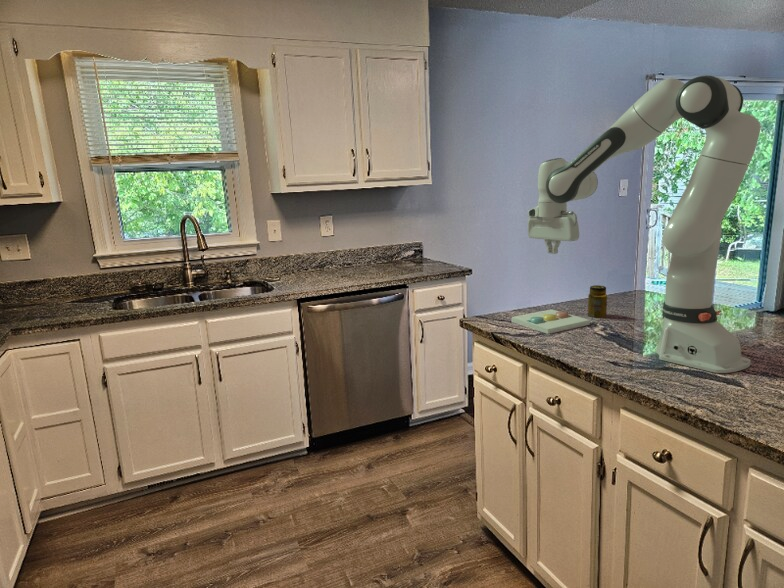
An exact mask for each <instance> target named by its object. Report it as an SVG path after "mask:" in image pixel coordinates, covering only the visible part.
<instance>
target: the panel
mask: <svg viewBox="0 0 784 588" xmlns="http://www.w3.org/2000/svg"><path fill="white" fill-rule="evenodd" d="M556 312H560V310H559V311H558V310H555V309H552V308H551V309H546V310H542V311H541V310H540V311H535V312H531V313H527V314H522V315H521V314H520V315H515V316H512V317H511V323H514V324H517V325H520V326H523V327H527V328H528V329H529V328H530V329H533V330H535V331H538V332H542V333H543V334H547V335H550V334H553V333H557V332H563V331H567V330H571V329H575V328H580V327H584V326H588V325H589V326H590V325H591V320H590V319H588V318H584V317H581V316H577V315H573V314H571V313H570V314H569V315H568V318H563V319H561V318H557V317H556V320H554V321H546V320H544V323H540V324H534V323H531V317H542V318H543V315H545V314H553V315H556Z"/></svg>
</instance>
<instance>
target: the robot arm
mask: <svg viewBox="0 0 784 588" xmlns="http://www.w3.org/2000/svg"><path fill="white" fill-rule="evenodd" d="M743 105H744V96H743V93H742V92H741V89H739V87H738V86H736V85H734V84H732V83H731V82H730V81H729V80H727V79H724V78H720V77H716V76H714V75H707V74H706V75H701V76H700V75H699V76H697V77H694V78H691V79H690V80H689V81H687V82H685V83H684V82H683V81H682V80H679V79H676V78H673V77H671V78H670V77H669V78H666V79H665V78H664V79H663V80H662V81H660V82H658V83H657V84H655V85H654V86H653V87H651V88H650V89H649V90H648V91H646V92H645V93H644V94H643V95H642V96H641V97H639V98H638V99H637V100H636V101H635V102H634V103H633V104H632V105H631V106H630V107H629V108H628V109H627V110H626V111H625V112H624V113H623V114H621V116H620V117H619V118H618V119H617V120H616V121H615V122H614V123H612V125H611V126H610V127H609V128H608V129H606V130H605V132H603V133H602V134H601V135H600V136H598V138H596V139H595V140H594V141H593V142H592V143H590V144H589V145H588V146H587V147H586V148H585V149H584V150H583V151H581V153H579V154H578V155H577V156H576V157H574V159H572V160H571V161H570V162H568V161H567V160H566V159H565V158H562V157H557V158H552V159H548V160H546V161H543V162H542V163H541V164H540V165H539V167H538V174H537V190H538V195H539V196H538V199H537V206H535V207H532V208H531V209H529V210H527V212H526V213H527V217H528V219H527V236H528V237H529V238H530V239H535V240H537V239H538V240H544V244H545V246H546V248H547V251H546V252H547V254H552V255H557V254H558V252H559V250H558V249H559V247H560V245H561V242H576V241H578V240H579V239H580V227H579V221H578V216H577V214H576V213H575V212H574V211H572V210H569V211H568V208H567V207H568V206H567V205H568V202H570V201H571V202H572V201H578V200H583V199H587V198H589V197H591V196H592V195H594V193H596V190H597V188H598V184H599V180H598V177H597V174H596V172H595V171H596V170H598V169H599V168H600V167H601V166H602V165H603V164H604V163H607V161H608V160H611V159H612V158H614V157H617V156H618V155H619V156H620V155H621V154H624V153H629V152H632V151H636V150H639V149H642V148H643V147H645V146H647V145H649V144H650V143H651V142H653V141H654V140H655V139H657V138H658V137H659V136H660V135H661V134H663V132H665V131H666V130H667V129H668V128H670V127H671V125H673V124H674V123H675V122H676V121H678V120H680V119H684V120H686V121H687V122H689V123H691V124H692V125H695V127H697V128H699V129H702V130H703V129H704V130H705V132H706V137H705V141H704V144H703V146H702V150H701V151H700V152H699V153H700V154H699V156H698V159H697V161H696V163H695V165H694V169H693V172H692V174H691V176H690V178H689V180H688V182H687V185H686V187H685V190H684V191H683V192H682V193H683V194H682V195H681V197H680V198H679V200H678V202H677V204H676V205H675V208H674V210H673V212H672V213H671V216H670V218H669V220H668V223H667V224H666V227H664V231H663V233H662V244H663V246H664V248H665V249H666V250H667V251H668V252H669V253H671V257H670V262H669V266H668V270H667V273H666V278H665V279H666V281H665V282H666V283H665V297H664V302H663V304H662V314H661V315H662V319H663V320H662V321H663V322H662V326H661V327H662V328H661V333H660V336H659V339H658V342H657V345H656V348H655V351H654V352H655V353H656V354H657V355H658V360H661V361H665V362H668V363H669V362H670V363H672V364H678V365H680V366H686V367H690V368H695V369H698V370H702V371H707V372H711V373H716V374H728V373H736V372H738V371H739V372H740V371H743V370H745V369H748V368H749V367H750V366H751V364H752V361H751V359H750V358H748V357H745V356H742V349H741V347H742V346H741V343H740V340H739V339H738V338H737V337H736V336H735V335H734V334H732V332H730V331H729V330H728V329H727V328H726V327H725V326H723V324H721V322H719V321H718V317H717V316H720V315H722V313H721V312H722V310H717V311H716V310H715V307H714V305H713V295H714V283H715V273H716V270H717V269H716V268H717V263H718V257H719V251H720V245H721V240H722V239H721V237H722V232H723V231H722V230H723V229H722V228H723V227H722V221H723V219H724V217H725V216H726V213H727V212H728V210H729V208H730V206H731V205H732V203H733V201H734V198H735V197H736V196H737V193H738V191H739V189H740V187H741V184H742V182H743V180H744V177H745V175H746V173H747V171H748V169H749V167H750V163H751V162H752V159H753V156H754V154H755V151H756V148H757V144H758V141H759V137H760V132H761V123H760V121H759V119H758V118H756V116H754V115H752V114H749V113H745V112H742V109H743V107H744V106H743Z"/></svg>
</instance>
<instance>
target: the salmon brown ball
mask: <svg viewBox="0 0 784 588" xmlns="http://www.w3.org/2000/svg"><path fill="white" fill-rule="evenodd" d="M568 315H569V312H568V311H559V312H556V317H557V318H561V319H563V318H568Z"/></svg>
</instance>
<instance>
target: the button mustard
mask: <svg viewBox="0 0 784 588" xmlns="http://www.w3.org/2000/svg"><path fill="white" fill-rule="evenodd" d="M543 318H544V320H546V321H554V320H556V315H553V314H545V315H543Z"/></svg>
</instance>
